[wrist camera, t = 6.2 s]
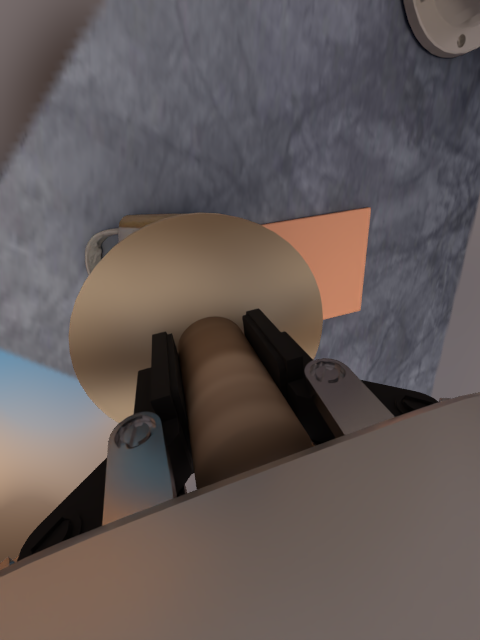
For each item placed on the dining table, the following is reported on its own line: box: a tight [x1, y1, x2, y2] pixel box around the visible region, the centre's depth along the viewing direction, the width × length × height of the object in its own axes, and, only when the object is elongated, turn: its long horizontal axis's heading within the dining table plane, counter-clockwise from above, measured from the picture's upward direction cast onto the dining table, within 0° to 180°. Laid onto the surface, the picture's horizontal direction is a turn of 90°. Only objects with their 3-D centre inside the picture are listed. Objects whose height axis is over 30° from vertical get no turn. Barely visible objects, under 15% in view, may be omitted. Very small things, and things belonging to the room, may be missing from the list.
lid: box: [69, 213, 323, 490], centre depth 10 cm, size 11×11×7 cm
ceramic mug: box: [85, 214, 181, 275], centre depth 21 cm, size 11×8×8 cm
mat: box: [262, 207, 371, 320], centre depth 29 cm, size 12×14×1 cm
